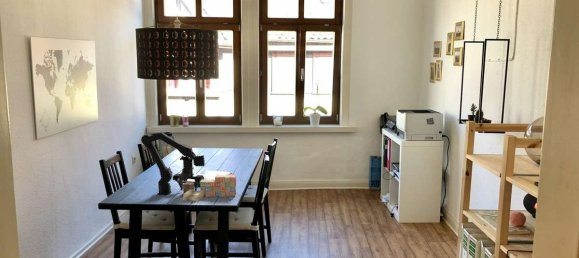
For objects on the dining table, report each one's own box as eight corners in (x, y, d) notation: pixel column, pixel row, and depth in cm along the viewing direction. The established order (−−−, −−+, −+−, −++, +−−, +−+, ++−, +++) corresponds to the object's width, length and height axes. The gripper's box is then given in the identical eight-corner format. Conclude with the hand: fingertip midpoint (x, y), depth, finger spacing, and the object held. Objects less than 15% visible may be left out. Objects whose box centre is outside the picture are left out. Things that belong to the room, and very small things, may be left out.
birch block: (183, 200, 268) (183, 194, 267) (189, 196, 276) (189, 189, 276) (197, 201, 266) (197, 195, 265) (203, 197, 274) (203, 190, 274)
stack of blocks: (200, 196, 275) (199, 177, 273) (201, 193, 281) (201, 174, 279) (235, 196, 275) (235, 177, 273) (236, 193, 281) (236, 174, 279)
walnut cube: (183, 193, 280) (183, 184, 280) (186, 191, 285) (186, 182, 284) (190, 194, 279) (190, 184, 278) (194, 191, 284) (194, 182, 283)
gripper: (167, 168, 274) (168, 193, 277) (196, 170, 270) (197, 195, 272) (176, 164, 285) (177, 188, 287) (204, 166, 281) (204, 190, 283)
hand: (188, 190), depth 282 cm, fingers open, 9 cm apart
